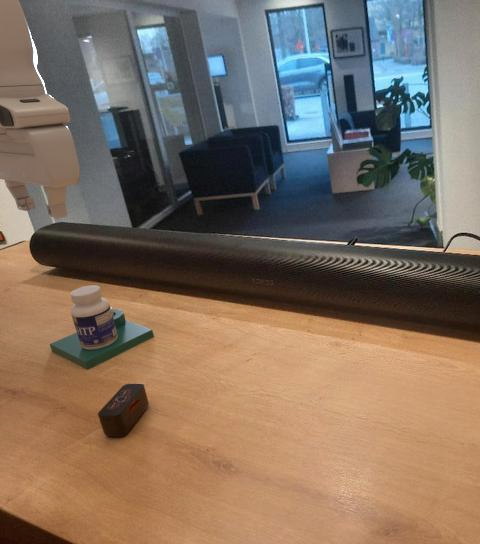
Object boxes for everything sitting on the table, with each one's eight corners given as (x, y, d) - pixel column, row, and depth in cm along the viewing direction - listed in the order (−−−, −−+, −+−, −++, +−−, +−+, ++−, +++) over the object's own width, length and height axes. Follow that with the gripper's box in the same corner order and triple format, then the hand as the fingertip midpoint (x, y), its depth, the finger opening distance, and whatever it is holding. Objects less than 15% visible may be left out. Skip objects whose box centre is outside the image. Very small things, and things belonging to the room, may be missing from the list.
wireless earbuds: (154, 400, 64) (148, 379, 63) (125, 438, 57) (118, 415, 56) (120, 400, 65) (114, 379, 63) (87, 438, 58) (80, 415, 57)
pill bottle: (73, 349, 76) (56, 296, 72) (99, 332, 80) (84, 282, 77) (101, 352, 74) (85, 298, 71) (126, 335, 79) (112, 284, 75)
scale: (50, 351, 78) (45, 334, 77) (116, 322, 87) (112, 306, 86) (88, 370, 72) (82, 352, 71) (155, 336, 81) (151, 320, 80)
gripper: (-47, 113, 68) (-14, 210, 73) (20, 112, 57) (54, 227, 62) (4, 109, 73) (32, 201, 78) (75, 108, 62) (102, 215, 67)
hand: (42, 213), depth 70 cm, fingers open, 8 cm apart
